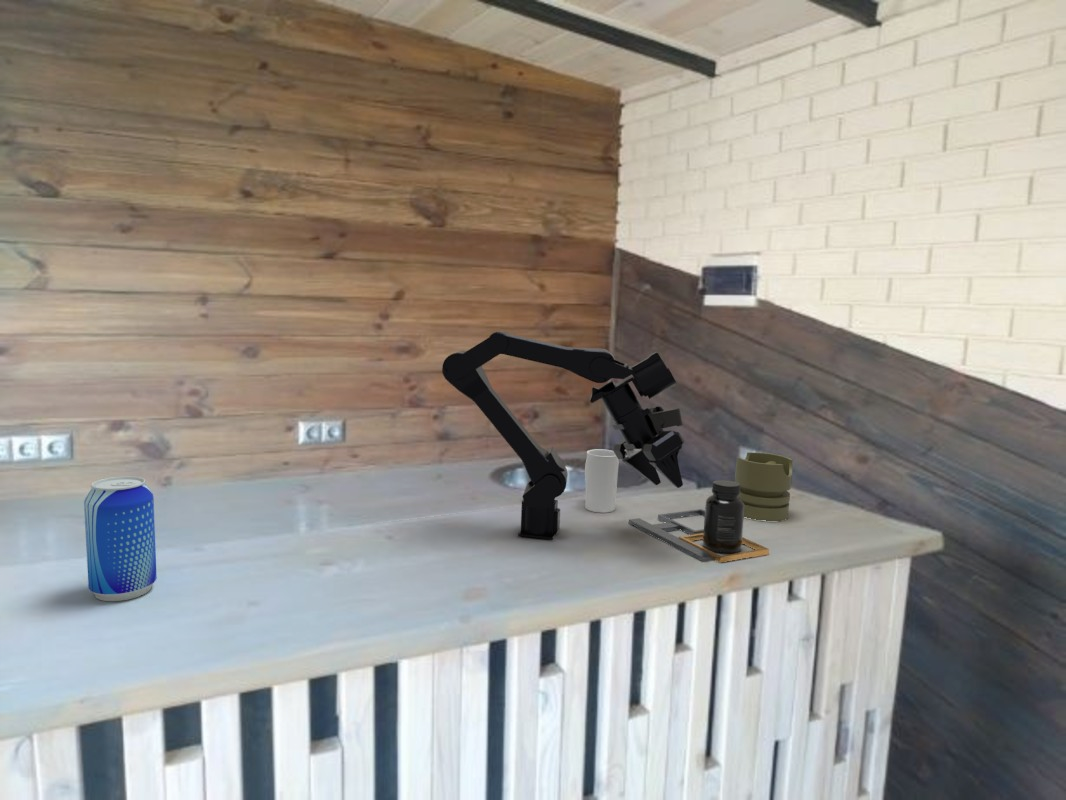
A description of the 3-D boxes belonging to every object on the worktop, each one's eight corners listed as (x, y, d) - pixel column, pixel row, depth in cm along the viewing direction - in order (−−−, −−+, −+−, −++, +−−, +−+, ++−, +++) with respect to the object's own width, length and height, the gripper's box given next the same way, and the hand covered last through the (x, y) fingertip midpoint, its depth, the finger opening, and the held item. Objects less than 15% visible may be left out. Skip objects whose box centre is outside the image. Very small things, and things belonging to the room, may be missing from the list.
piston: (728, 457, 149) (748, 450, 158) (723, 513, 151) (744, 502, 160) (782, 467, 143) (800, 458, 151) (776, 525, 144) (795, 513, 153)
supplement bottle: (747, 547, 131) (753, 483, 129) (731, 557, 125) (736, 490, 124) (712, 538, 135) (717, 476, 133) (695, 547, 130) (700, 482, 128)
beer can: (109, 609, 96) (103, 494, 94) (77, 593, 101) (70, 483, 98) (169, 588, 104) (165, 481, 101) (136, 575, 108) (131, 471, 106)
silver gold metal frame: (708, 565, 121) (709, 559, 121) (628, 523, 142) (628, 518, 142) (787, 551, 130) (788, 545, 129) (700, 513, 150) (701, 508, 150)
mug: (622, 511, 150) (625, 455, 148) (594, 514, 147) (597, 457, 145) (597, 498, 158) (600, 445, 157) (570, 501, 156) (573, 447, 154)
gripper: (684, 385, 122) (729, 463, 123) (641, 392, 140) (680, 460, 141) (633, 418, 119) (678, 498, 121) (595, 422, 138) (635, 491, 139)
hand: (669, 485), depth 130 cm, fingers open, 9 cm apart
